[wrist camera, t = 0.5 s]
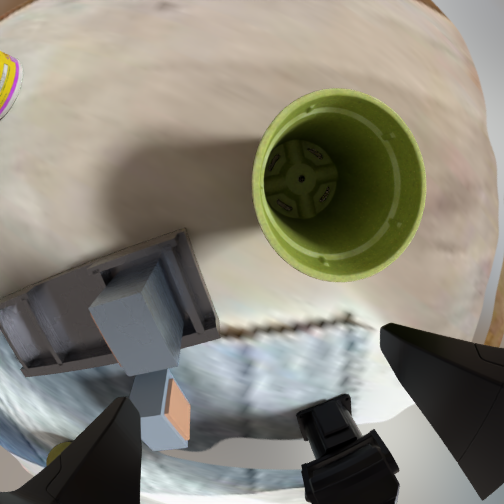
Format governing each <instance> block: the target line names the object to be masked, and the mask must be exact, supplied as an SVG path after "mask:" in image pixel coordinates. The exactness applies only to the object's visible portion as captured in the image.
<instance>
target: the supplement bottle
mask: <svg viewBox="0 0 504 504" xmlns="http://www.w3.org/2000/svg"><path fill="white" fill-rule="evenodd" d="M22 79H23V68H22V65H21V63H20V62H19V61H18V60H17V59H15V58H13V57H12V56H10V55H7V54H5V53H3V52H1V51H0V119H1V118H2V117H3V116H4V115H5V114H6V113H7V112H8V111H9V109H10V108H11V106H12V105H13V103H14V101H15V100H16V98H17V95H18V93H19V90H20V88H21V84H22Z"/></svg>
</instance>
